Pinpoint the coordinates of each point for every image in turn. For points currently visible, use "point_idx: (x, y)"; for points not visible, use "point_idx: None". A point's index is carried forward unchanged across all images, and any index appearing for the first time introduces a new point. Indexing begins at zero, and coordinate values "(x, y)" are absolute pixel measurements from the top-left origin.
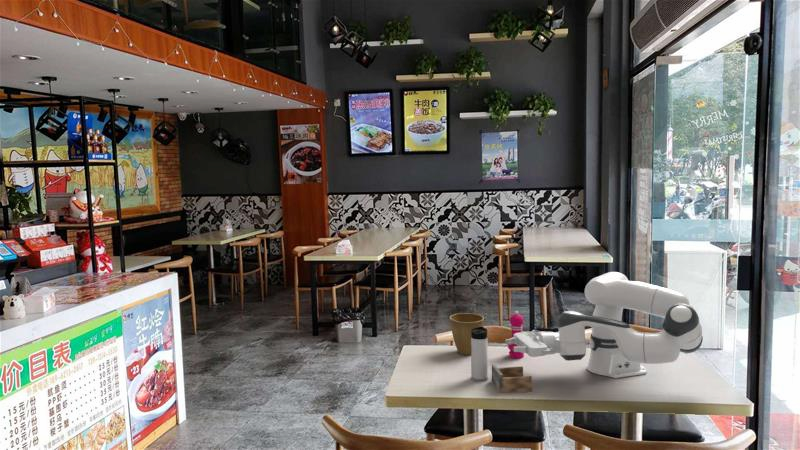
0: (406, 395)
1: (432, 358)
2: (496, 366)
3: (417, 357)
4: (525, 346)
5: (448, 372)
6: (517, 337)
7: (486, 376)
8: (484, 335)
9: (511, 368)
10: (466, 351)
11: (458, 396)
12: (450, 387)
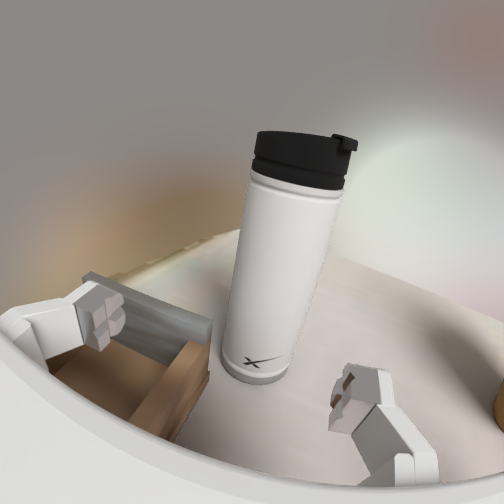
0: (236, 230)
1: (454, 333)
2: (171, 316)
3: (454, 313)
4: (7, 334)
5: (347, 322)
6: (384, 487)
7: (228, 358)
8: (255, 148)
9: (142, 402)
10: (499, 399)
11: (167, 264)
12: (230, 279)
